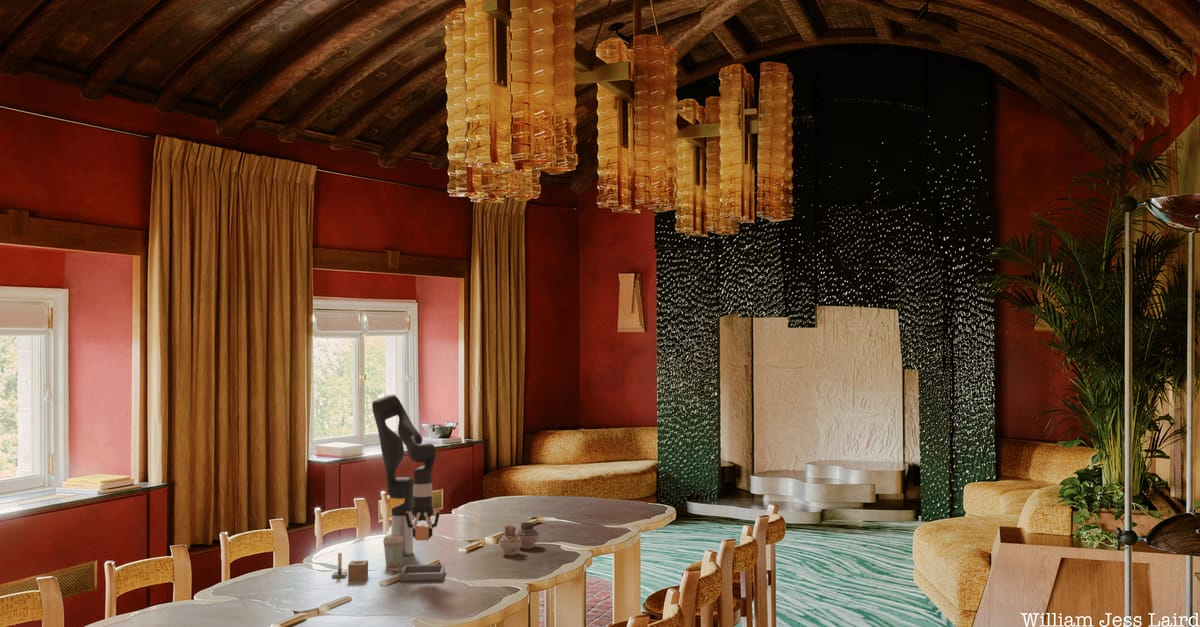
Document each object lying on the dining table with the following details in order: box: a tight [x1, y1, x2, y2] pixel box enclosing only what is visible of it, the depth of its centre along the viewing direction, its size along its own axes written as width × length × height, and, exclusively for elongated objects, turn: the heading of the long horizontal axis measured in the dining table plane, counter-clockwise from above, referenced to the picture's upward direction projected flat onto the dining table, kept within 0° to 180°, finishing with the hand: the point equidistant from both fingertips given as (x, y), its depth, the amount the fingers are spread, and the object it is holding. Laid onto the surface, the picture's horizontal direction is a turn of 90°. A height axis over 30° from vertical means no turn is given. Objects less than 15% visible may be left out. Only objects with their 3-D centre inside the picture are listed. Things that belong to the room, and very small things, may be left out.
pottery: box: [498, 521, 540, 556], centre depth 406 cm, size 11×25×12 cm, turn 155°
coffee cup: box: [382, 534, 404, 568], centre depth 380 cm, size 8×9×12 cm
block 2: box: [414, 524, 430, 542], centre depth 361 cm, size 5×5×5 cm
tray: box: [399, 564, 446, 583], centre depth 361 cm, size 14×16×3 cm
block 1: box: [347, 560, 369, 582], centre depth 359 cm, size 6×6×7 cm
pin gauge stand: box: [331, 552, 348, 579], centre depth 363 cm, size 5×5×9 cm
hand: (422, 537), depth 361 cm, fingers closed on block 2, 5 cm apart
